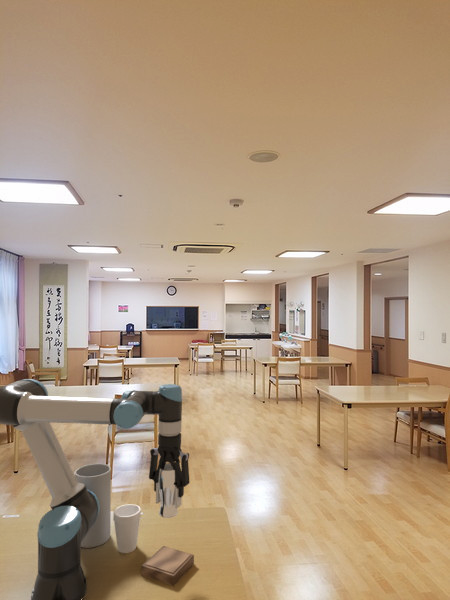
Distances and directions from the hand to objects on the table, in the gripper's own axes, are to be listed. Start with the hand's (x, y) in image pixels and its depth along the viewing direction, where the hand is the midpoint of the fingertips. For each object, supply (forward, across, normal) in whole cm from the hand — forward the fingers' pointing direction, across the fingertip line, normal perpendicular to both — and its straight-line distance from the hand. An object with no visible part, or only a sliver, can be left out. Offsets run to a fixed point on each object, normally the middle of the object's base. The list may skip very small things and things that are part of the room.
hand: (168, 503), depth 133 cm
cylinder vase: (+21, +34, -3) cm, 40 cm away
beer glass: (+3, 0, 0) cm, 3 cm away
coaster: (+20, -1, +1) cm, 21 cm away
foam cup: (+21, +19, -4) cm, 29 cm away
